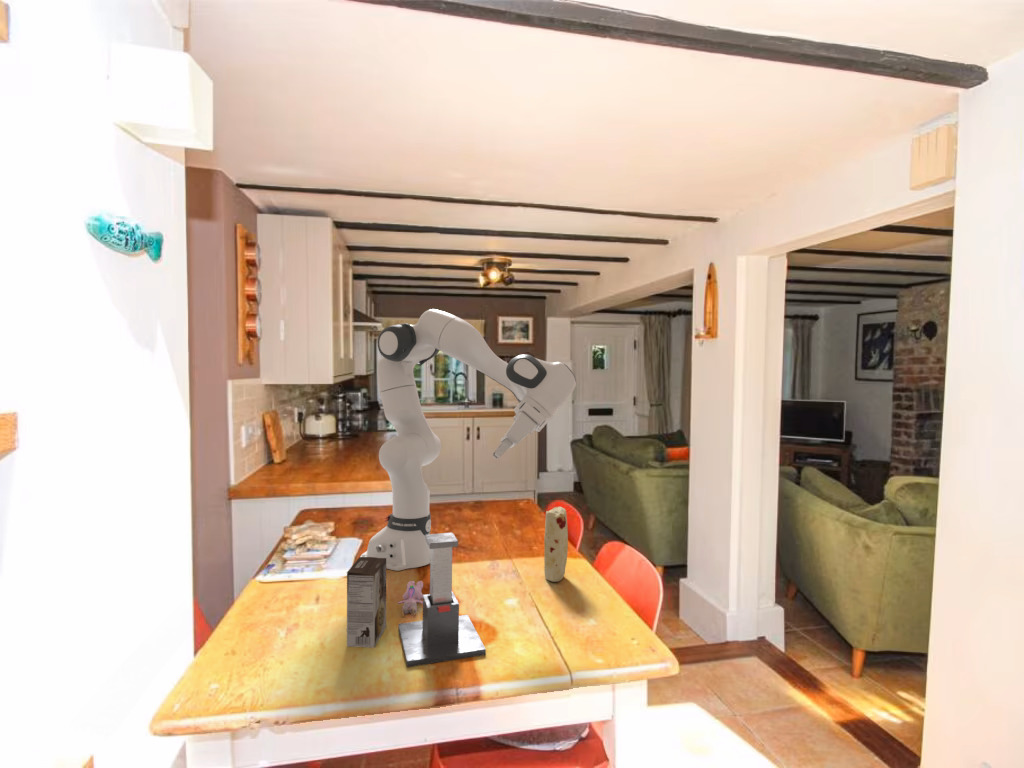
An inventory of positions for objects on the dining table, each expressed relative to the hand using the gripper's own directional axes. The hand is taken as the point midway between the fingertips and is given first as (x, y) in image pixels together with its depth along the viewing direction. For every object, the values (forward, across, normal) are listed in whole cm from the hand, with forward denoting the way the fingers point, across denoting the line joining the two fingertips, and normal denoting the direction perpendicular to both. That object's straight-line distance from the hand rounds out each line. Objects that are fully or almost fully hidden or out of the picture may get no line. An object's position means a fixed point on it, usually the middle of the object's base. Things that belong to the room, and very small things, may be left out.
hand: (495, 456), depth 135 cm
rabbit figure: (+41, -6, +9) cm, 42 cm away
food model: (+13, -20, +36) cm, 43 cm away
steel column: (+38, +12, +16) cm, 43 cm away
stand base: (+39, +12, +17) cm, 44 cm away
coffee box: (+49, +9, +4) cm, 50 cm away
